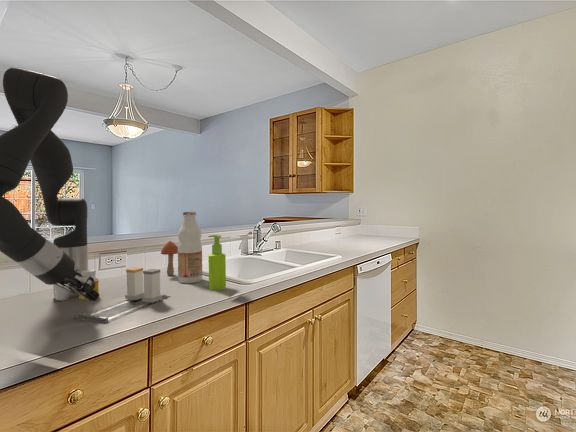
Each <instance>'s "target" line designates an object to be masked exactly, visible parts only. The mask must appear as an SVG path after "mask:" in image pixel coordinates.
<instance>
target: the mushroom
mask: <svg viewBox="0 0 576 432" xmlns="http://www.w3.org/2000/svg"><path fill="white" fill-rule="evenodd" d="M160 254H161V255H164V256H166V255H167V260H168V261H167V268H166V274H167V276H173V275H174V273H175V268H174V255H178V245H176V244H175V243H174V242H172V241H171V240H169V241H167V242H166V243H165V244H164V246H163V247H162V248H161V251H160Z"/></svg>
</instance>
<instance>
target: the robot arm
mask: <svg viewBox="0 0 576 432" xmlns="http://www.w3.org/2000/svg"><path fill="white" fill-rule="evenodd" d="M2 88H3V93H4V96H5V99H6V102H7V103H8V106H9V108H10V110H11V113H12V115H13V117H14V119H15V122H16V124H17V126H15V127H13V128H11V129H9V130H8V131H6V132H4V133H2V134H1V135H0V252H1V253H2V254H4V255H5V256H7V257H8V258H9V259H11V260H13V262H15V263H17V264H18V265H19V266H20V267H21V268H22V269H23V270H25V271H26V272H27V273H29V274H30V275H32V276H33V277H35V278H36V279H38V280H39V281H41V282H42V283H44V284H45V285H48V286H49V285H50V286H51V285H52V286H53V287H52V288H53V289H52V290H53V298H54V299H55V301H60V302H61V301H68V300H70V299H74V298H77V297H78V298H79V295H81V294H82V295H83V296H84V297H86V298H87V299H86V300H88V301H90V302H97V300H98V298H99V297H100V293H97V292H96V291H95V290H93V289H94V287H95V282H94V278H92V277H89V278H87V279H86V278H84V277H83V276H82V274H81V271H84V270H89V255H88V254H89V253H88V203H87V201H86V200H85V199H84V198H81V197H58V194H59V193H60V191H61V190H62V188H63V187H64V186H66V184H67V183H68V181H69V180H70V179H71V177H72V175H73V173H74V165H73V161H72V156H71V152H70V150H69V148H68V146H67V145H66V144H65V143H64V141H63V140H61V138H59V136H58V135H57V134H56V133H55V132H54V131H53V130H52V129H53V127H55V125H56V123H57V122H59V119H60V118H61V116H62V115H63V113H64V111H65V110H66V108H67V104H68V101H69V100H68V99H69V97H68V96H69V93H68V88H67V86H66V84H65V82H64V81H63V80H62V79H60V78H58V77H55V76H52V75H49V74H45V73H41V72H37V71H33V70H29V69H24V68H21V67H9V68H8V69H6V70H5V71H4V73H3V77H2ZM29 163H30V164H31V165H32V170H33V172H34V174H35V176H36V177H35V178H36V180H37V182H38V183H37V184H38V185H39V189H40V191H41V196H42V200H43V205H44V210H45V215H46V218H47V221H48V222H49V224H51V225H52V226H56V227H57V226H58V227H65V226H72V227H73V226H74V228H73V230H72V231H70V232H68V233H67V234H63V235H60V236H57V237H55V238H54V239H53V242H51V241H50V240H48V239H47V238H45V237H44V236H43V235H42V234H40V233H39V232H38V231H36V229H34V228H33V227H31V226H30V224H29V222H28V220H26V218H25V217H24V216H23V214H22V212H21V211H20V210H19V209H18V207H17V206H16V205H15V204H13V202H11V201H10V200H8V199H7V198H6V197H4V195H6V194H7V193H9V192H11V191H13V190H15V189H17V187H18V186H19V184H20V182H21V181H22V178H23V176H24V174H25V172H26V169H27V168H28V165H29Z"/></svg>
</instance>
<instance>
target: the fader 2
mask: <svg viewBox="0 0 576 432" xmlns="http://www.w3.org/2000/svg"><path fill="white" fill-rule="evenodd" d="M143 292H144V297H142V301H144V302H151V303H153V302H156V301H158V300H161V299H162V295H160V294H161V269H157V268H156V269H155V268H150V269H146V270H143Z"/></svg>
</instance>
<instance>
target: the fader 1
mask: <svg viewBox="0 0 576 432" xmlns="http://www.w3.org/2000/svg"><path fill="white" fill-rule="evenodd" d="M143 271H144V267H131V268H130V267H129V268H126V269H125V272H126V294H125V295H124V300H127V299H130V300H137V299H140V298H142V297H144V293H143V292H144V274H143Z"/></svg>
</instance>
